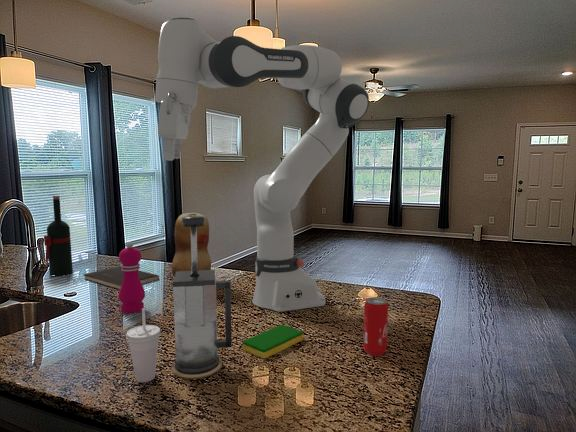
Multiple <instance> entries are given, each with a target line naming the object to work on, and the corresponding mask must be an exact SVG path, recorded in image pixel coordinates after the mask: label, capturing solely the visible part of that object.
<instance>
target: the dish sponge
mask: <svg viewBox="0 0 576 432" xmlns="http://www.w3.org/2000/svg"><path fill="white" fill-rule="evenodd" d="M303 340H304V331H302V330H299V329H297V328H294V327H291V326H288V325H285V324H280V325H278V326H275V327H273V328H271V329H268V330H266V331H263V332H261V333H259V334H257V335H253V336H251V337H250V338H246V339H244V340H243V341H242V350H243V351H244V352H247V353H249V354H251V355H255V356H256V357H258V358H261V359H267V358H269V357H271V356H273V355H275V354H278V353H279V352H281V351H283V350H285V349H287V348H289V347H291V346H293V345H295V344H297V343H299V342H301V341H303Z"/></svg>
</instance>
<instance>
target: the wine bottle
mask: <svg viewBox="0 0 576 432" xmlns="http://www.w3.org/2000/svg"><path fill="white" fill-rule="evenodd" d="M52 198H53V199H52V203H53V216H54V217H53V220H54V221H52V222H50V223H49V224H48V225H47V227H46V235H44V236H43V241H44V242H43V243H44V246H46V247H45V259H44V261H45V260H46V261H47V263H48V268H49V269H48V270H49V271H48V272H49V276H50V275H55V276H54V277H63V275H65V276H68V274H69V275H72V274H73V273H74V269H73V268H74V267H73V259H72V258H73V255H72V241H71V229H70V228H71V227H70V225H69V224H68V223H67V222H65V221H63V220H62V214H61V199H60V195H52Z"/></svg>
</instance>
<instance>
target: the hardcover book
mask: <svg viewBox="0 0 576 432" xmlns="http://www.w3.org/2000/svg"><path fill="white" fill-rule="evenodd" d="M121 269H122V267H121V265H120V266H115V267H110V268H107V269H102V270H97V271H92V272H87V273H84V274H83V276H84V279H85V280H87V279H88V280H87V281H90V280H92V281H91V282H94V281H95V282H94V283H97V282H98V283H97V284H100V283H101V285H105V286H107V287H111V288H115V289H118V290H120V288H121V286H122V283H123V271H122V270H121ZM138 274H139V279H140V282H141V284H142V285H144V284H146V282H147V283H149V282H154V281H157V279H158V280H160V276H159V275H158V274H155V273H151V272H147V271H143V270H139V271H138Z"/></svg>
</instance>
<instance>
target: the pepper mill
mask: <svg viewBox="0 0 576 432" xmlns="http://www.w3.org/2000/svg"><path fill="white" fill-rule="evenodd" d="M118 260H119V263H121V265H120V266H121V267H122V269H121V270H122V271H123V283H122V286H121V288H120V289H118V290H119V292H118V301H119V302H120V303H122V304H121V305H120V312H121V313H123V314H127V315H129V314H137V313H141V312H142V309H143V308H145V304H144V302H143V301H144V299H145V297H146V291H145V288H144V285H143V284H141V282H140V279H139V274H138V271H140V269H141V266H140V265H141V264H140V263H139V262H140V261H141V260H142V253H141V251H140V249H138V248H136V247H134V243H133V242H131V241H130V242H127V243H126V247H125V248H123V249H122V250H121V251H120V252H119V254H118Z"/></svg>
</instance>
